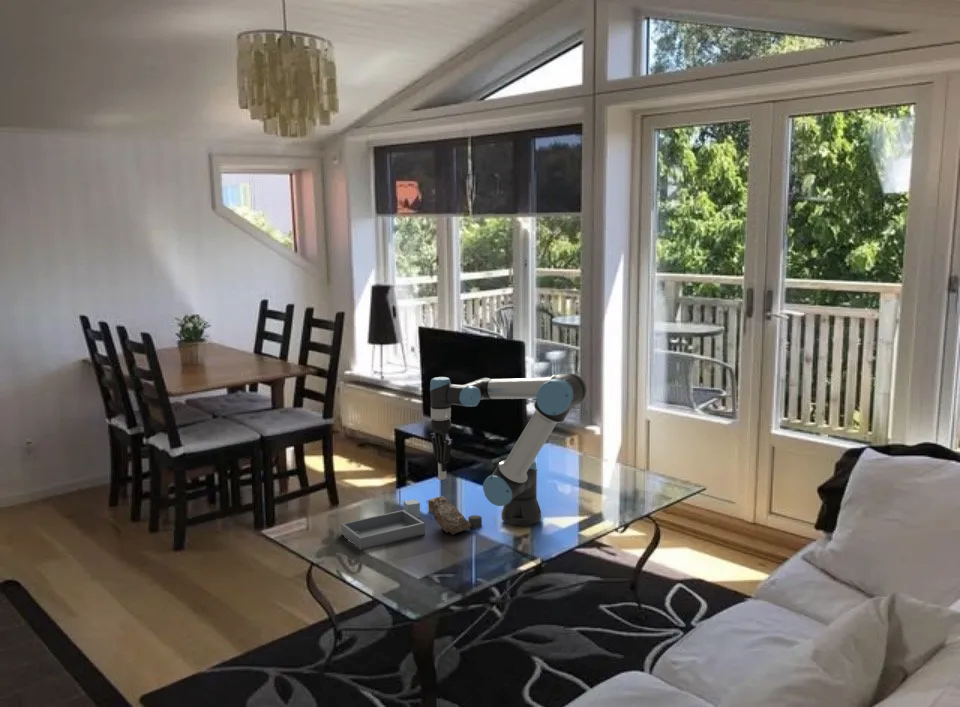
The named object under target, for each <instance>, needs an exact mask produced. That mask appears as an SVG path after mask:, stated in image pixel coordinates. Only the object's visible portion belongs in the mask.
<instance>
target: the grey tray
mask: <svg viewBox="0 0 960 707" xmlns="http://www.w3.org/2000/svg"><path fill="white" fill-rule="evenodd" d="M355 531H359V533H358V532H357V533H358V534H357V533H356V532H355ZM341 532H342V533H343V534H344V535H345V536H346V537H347V538H348V539H349V540H350V541H351V542H353V543H354V544H355V545H356V546H357V547H358V548H359V549H360V551H362V550H361V549H365V550H368V549H372V548H376V547H381V546H384V545H385V546H386V545H388V544H393V543H397V542H400V541H404V540H409V539H412V538H417V537H420V536H424V535H426V524H425V522H424V521H422V520H421V519H419V518H416V517H414V516H413V515H411V514H409V513H408V512H406V511H404V509H401V510H397V511H392V512H388V513H384V514H379V515H374V516H370V517H367V518H366V517H365V518H361V519H357V520H352V521H348V522H342V523H340V533H341ZM357 547H356V548H357ZM358 548H357V549H358ZM359 549H358V550H359Z"/></svg>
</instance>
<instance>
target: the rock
mask: <svg viewBox="0 0 960 707" xmlns="http://www.w3.org/2000/svg"><path fill="white" fill-rule="evenodd" d="M437 497H438V498H436V499H435V500H434V502H435V504H434V511H433V515H434V516H433V517H434V520H435V522H437V524H438V525H440V527H441V528H442V529H443V530H444V532H445V533H446V534H447V533H450V534H451V535H455V534H457V533H460V532H463V531H466V530H470V529H469V528H471V527H472V525H471V523H470V522H469V520H468V519H466V517H465V516H464V515H463V514H462V513H461V512H460V511H459V509H457V508H456V507H455V506H454V505H453V504H452V503H451V502H450V501H449V500H448V499H447V498H446V497H444V496H443V495H440V496H437Z"/></svg>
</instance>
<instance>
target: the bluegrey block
mask: <svg viewBox="0 0 960 707" xmlns="http://www.w3.org/2000/svg"><path fill="white" fill-rule="evenodd" d="M403 510H404V511H406V512H408V513H409V514H411V515H413V516H414V517H416V518H417V519H419V518H421V503H420V502H419V501H418V500H417V499H415V498H414V499H409V500H403Z"/></svg>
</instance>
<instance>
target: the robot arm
mask: <svg viewBox="0 0 960 707" xmlns="http://www.w3.org/2000/svg"><path fill="white" fill-rule="evenodd" d="M587 389H588V388H587V384H586V382H585V380H584V379H583V378H582V377H581V376H579V375H578V374H576V373H572V372H571V373H565V374H564V373H562V374H553V375H552V376H551V377H527V378H526V377H525V378H524V377H522V378H489V377H482V378H479V379H476V380H474V381H471V382H467V383H465V384H454V383H451V379H450V378H449V377H446V376H438V377H437V376H436V377H433V378H431V380H430V386H429V392H430V418H431V419H430V426H431V427H430V428H431V429H432V430H433V433H429V435H430V438H431V444H432V450H433V452H432V453H433V457H434V460H436V462H437V470H438V471H437V472H438V474H437V475H438V476H437V478H438V480H439V481H443V480H446V479H447V463H450V461H451V454H452V446H453V442H454V439H453V438H450V433H449V430H450V429H451V428H452V419H451V417H452V414H451V412H452V408H451V406H452V405H454V406H462V407H466V408H469V407H471V408H472V407H477V406H478V405H479V403H480V401H481V400H506V399H507V400H509V399H510V400H515V399H516V400H518V399H519V400H520V399H522V400H523V399H525V400H527V399H528V400H529V399H530V400H531V399H535V402H534V404H533V407H534V409H535V411H534V412H533V414H532V415H531V417H530V419H529V420H528V423H527V424H526V426H525V428H524V429H523V431H522V432H521V434H520V436H519V437H518V439H517V441H516V443H515V444H514V446H513V447H512V449H511V451H510V453H509V454H508V456H507V458H506V459H505V460H501V461H500V462H499V463H498V464H497V466H496V467H495V470H494V471H493V473H492V474H490V475H488V476H487V477H486V479H484V481H483V484H482V490H483V492H484V497H485V498H486V499H487V501H489V502H490V503H491V504H493V505H494V506H496V507H497V506H498V507H502V510H501V520H502V521H503V522H505V523H508V524H511V525H517V526H527V525H533V524H536V523H538V522H540V521H541V520H542V510H541V507H540V504H539V501H538V499H537V496H538V493H537V492H538V490H537V489H538V488H537V485H538V482H537V481H538V477H537V474H538V473H537V472H538V469H537V462H536V461H535V460H536V458H537V457H538V455H539V452H540V451H541V450H542V448H543V446H544V444H545V443H546V441H547V440H548V438H549V437H550V435H551V434H552V432H553V430H554V428H555V427H556V425H557V424H559V423H563V422H564V421H565V419H566V418H567V416H568V414H569V413H570V411H571V409H572V408H574V407H576V406H578V405H580V404H581V403H582V402H583V401H584V399H585V398H586V396H587Z"/></svg>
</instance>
